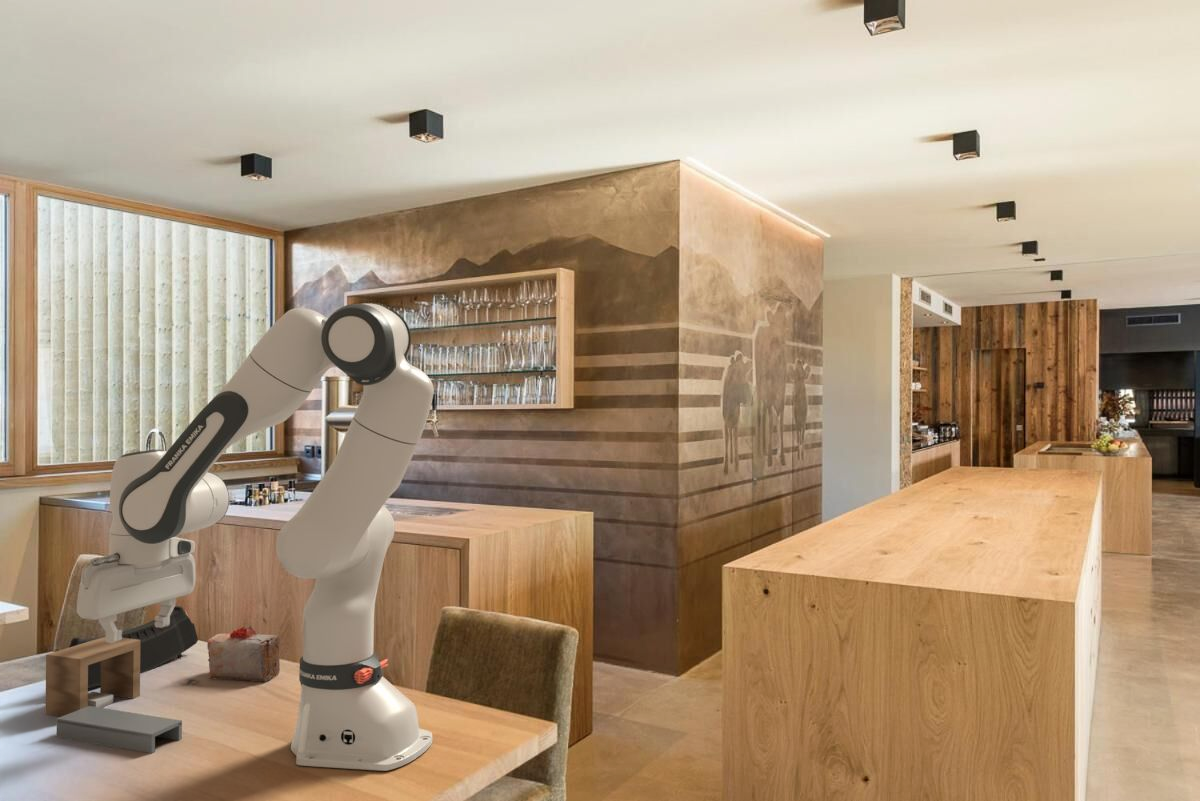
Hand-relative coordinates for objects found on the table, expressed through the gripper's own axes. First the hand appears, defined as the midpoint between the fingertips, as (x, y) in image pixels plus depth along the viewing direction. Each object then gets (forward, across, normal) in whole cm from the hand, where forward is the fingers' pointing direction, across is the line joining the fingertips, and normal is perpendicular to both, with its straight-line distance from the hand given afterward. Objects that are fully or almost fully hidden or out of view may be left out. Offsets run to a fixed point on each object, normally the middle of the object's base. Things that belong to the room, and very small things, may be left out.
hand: (138, 633), depth 136 cm
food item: (+18, +32, +7) cm, 37 cm away
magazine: (+18, +26, +29) cm, 43 cm away
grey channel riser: (+17, 0, +4) cm, 18 cm away
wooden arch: (+18, +10, +21) cm, 29 cm away
